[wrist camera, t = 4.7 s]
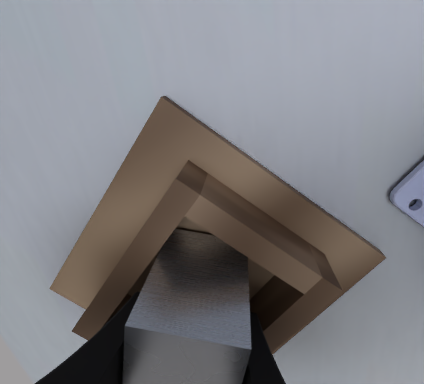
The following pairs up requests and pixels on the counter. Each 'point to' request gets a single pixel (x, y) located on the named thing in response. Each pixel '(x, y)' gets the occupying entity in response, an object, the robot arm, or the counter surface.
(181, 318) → the grey tall block
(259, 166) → the well
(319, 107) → the counter surface
